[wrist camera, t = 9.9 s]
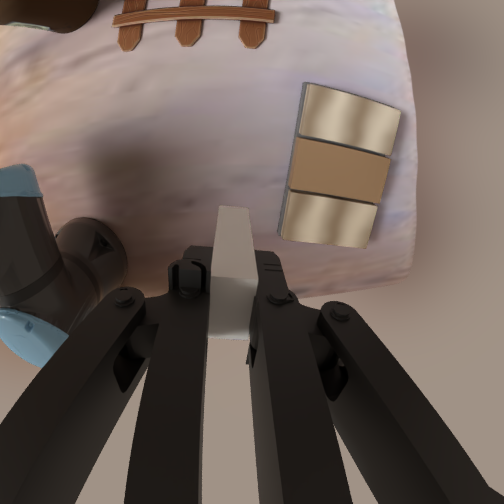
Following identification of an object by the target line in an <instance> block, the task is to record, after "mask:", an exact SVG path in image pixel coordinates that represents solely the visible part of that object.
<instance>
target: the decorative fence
mask: <svg viewBox="0 0 504 504" xmlns="http://www.w3.org/2000/svg"><path fill="white" fill-rule="evenodd" d="M146 1H147V0H125V1H124V6H123V11H122V14H118V15H115V16H114V18H113V24H112V27H113V28H116V27H120V28H119V34H118V41H117V43H118V45H119V46H120V48H121V50H122V51H123V52H127V51H132V50H133V49H134V47H135V46H136V45H137V43H138V42H139V41H140V37H141V30H142V24H143V23H149V22H159V21H170V20H177V25H176V32H175V37H176V39H177V40H178V42H179V43H180V45H181V46H182V47H191V46H192V45H193V44H194V43H195V42H196V40H197V39H198V38H199V37H200V34H201V27H202V19H227V20H240V29H239V39H240V40H241V42H242V43H243V45H244V47H245V48H251V49H255V48H257V46H258V45H259V44H260V43H261V42H262V41H263V40H264V38H265V29H266V22H267V23H273V22H274V19H275V10H271V9H268V1H269V0H243V4H242V7H237V6H204V5H205V0H180V5H179V7H169V8H158V9H150V10H145V6H146Z"/></svg>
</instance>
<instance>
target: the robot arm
mask: <svg viewBox="0 0 504 504" xmlns="http://www.w3.org/2000/svg"><path fill="white" fill-rule="evenodd" d="M42 197H43V194H42V193H41V191H40V188H39V185H38V182H37V179H36V175H35V172H34V170H33V168H32V167H31V166H29V165H27V164H17V165H12V166H8V167H4V168H1V169H0V338H1V340H2V341H3V342H4V343H5V344H6V345H7V346H8V347H9V348H10V349H11V350H12V351H13V352H14V353H15V354H17V355H18V356H20V357H21V358H22V359H24V360H26V361H27V362H29V363H31V364H33V365H35V366H38V367H40V368H42V369H41V370H40V371H39V373H38V374H37V375H36V377H35V378H34V379H33V380H32V382H31V383H30V384H29V386H28V387H27V388H26V389H25V391H24V392H23V393H22V395H21V396H20V397H19V399H18V400H17V402H16V403H15V404H14V406H13V407H12V409H11V410H10V411H9V413H8V414H7V415H6V417H5V418H4V420H3V421H2V423H1V424H0V504H75V502H76V500H77V498H78V496H79V494H80V492H81V490H82V488H83V486H84V484H85V482H86V480H87V478H88V476H89V474H90V472H91V470H92V468H93V466H94V465H95V463H96V461H97V459H98V457H99V455H100V453H101V451H102V449H103V447H104V445H105V443H106V442H107V440H108V438H109V436H110V434H111V432H112V430H113V429H114V427H115V425H116V423H117V421H118V419H119V417H120V416H121V414H122V412H123V410H124V408H125V406H126V405H127V403H128V401H129V399H130V398H131V396H132V394H133V392H134V390H135V389H136V387H137V385H138V383H139V382H140V380H141V378H142V376H143V375H144V373H145V371H146V369H147V367H148V370H147V375H146V379H145V383H144V388H143V392H142V397H141V401H140V407H139V411H138V417H137V421H136V427H135V433H134V438H133V443H132V449H131V456H130V461H129V469H128V475H127V482H126V491H125V498H124V504H202V447H203V446H202V445H203V419H204V397H205V396H204V395H205V378H206V362H207V345H208V343H207V342H208V338H218V339H233V340H248V337H249V334H250V344H249V349H248V355H247V360H246V364H249V370H250V386H251V399H252V413H253V427H254V439H255V440H254V441H255V453H256V466H257V479H258V491H259V501H260V504H353V502H352V498H351V495H350V490H349V485H348V482H347V477H346V473H345V469H344V465H343V460H342V457H341V452H340V448H339V444H338V441H337V436H336V432H335V429H334V426H335V428H336V430H337V431H338V433H339V435H340V437H341V439H342V440H343V442H344V444H345V446H346V447H347V449H348V451H349V453H350V454H351V456H352V458H353V460H354V462H355V463H356V465H357V467H358V469H359V470H360V472H361V474H362V476H363V477H364V479H365V481H366V483H367V485H368V486H369V488H370V490H371V492H372V493H373V495H374V497H375V499H376V500H377V502H378V504H504V496H502V495H501V494H499V493H498V492H496V491H495V490H493V489H492V488H490V487H489V486H488V485H487V483H486V482H485V480H484V479H483V477H482V475H481V474H480V472H479V471H478V469H477V468H476V467H475V465H474V464H473V462H472V461H471V459H470V458H469V456H468V455H467V453H466V452H465V450H464V449H463V448H462V446H461V445H460V443H459V442H458V440H457V439H456V438H455V436H454V435H453V434H452V432H451V431H450V429H449V428H448V427H447V425H446V424H445V423H444V421H443V420H442V418H441V417H440V416H439V414H438V413H437V412H436V410H435V409H434V408H433V406H432V405H431V404H430V402H429V401H428V400H427V398H426V397H425V396H424V395H423V393H422V392H421V391H420V389H419V388H418V387H417V385H416V384H415V383H414V382H413V380H412V379H411V378H410V376H409V375H408V374H407V373H406V371H405V370H404V369H403V367H402V366H401V365H400V364H399V362H398V361H397V360H396V359H395V357H394V356H393V355H392V354H391V353H390V351H389V350H388V349H387V348H386V346H385V345H384V344H383V343H382V341H381V340H380V339H379V338H378V337H377V335H376V334H375V333H374V332H373V330H372V329H371V328H370V327H369V326H368V324H367V323H366V322H365V321H364V320H363V318H362V317H361V316H360V315H359V314H358V313H357V311H356V310H355V309H353V308H352V307H351V306H349V305H347V304H345V303H343V302H338V301H330V302H327V303H325V304H324V305H323V306H322V308H321V310H318V309H313V308H310V307H307V306H304V305H302V304H300V303H299V301H298V298H297V297H296V295H295V294H294V293H293V292H291V291H290V290H288V287H287V283H286V280H285V276H284V273H283V269H282V266H281V262H280V259H279V257H278V256H277V255H276V254H275V253H274V252H270V251H259V250H254V245H253V238H252V231H251V224H250V217H249V210H248V208H244V207H234V206H223V205H219V211H218V218H217V225H216V233H215V240H214V247H202V246H190V247H189V248H188V249H187V250H185V252H184V255H183V259H181V260H177V261H175V262H173V263H171V265H170V266H169V267H168V280H169V291H168V293H166V294H164V295H161V296H157V297H150V298H144V294H143V293H142V292H141V291H140V290H138V289H136V288H133V287H120V285H121V284H122V282H123V280H124V278H125V276H126V272H127V258H126V254H125V251H124V248H123V246H122V244H121V242H120V241H119V239H118V238H117V236H116V235H115V234H114V233H113V232H112V231H111V230H110V229H109V228H108V227H106V226H105V225H103V224H102V223H100V222H98V221H96V220H93V219H89V218H76V219H73V220H71V221H69V222H68V223H66V224H65V225H64V226H63V227H62V228H61V229H59V231H58V232H57V233H56V235H55V237H54V234H53V231H52V228H51V225H50V222H49V219H48V216H47V212H46V209H45V205H44V202H43V198H42ZM119 287H120V288H119ZM333 424H334V425H333Z"/></svg>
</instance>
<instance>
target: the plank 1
mask: <svg viewBox="0 0 504 504" xmlns="http://www.w3.org/2000/svg"><path fill="white" fill-rule="evenodd" d="M400 114H401V111H399V110H397V109H394V108H391V107H388V106H386V105H383V104H380V103H377V102H374V101H371V100H368V99H365V98H361V97H358V96H355V95H351V94H348V93H344V92H341V91H337V90H333V89H329V88H325V87H321V86H317V85H313V84H307V89H306V95H305V101H304V107H303V112H302V118H301V123H300V129H299V133H300V134H301V135H305V136H311V137H316V138H321V139H325V140H330V141H335V142H339V143H343V144H348V145H352V146H356V147H360V148H364V149H368V150H371V151H375V152H379V153H382V154H386V155H389V156H391V152H392V148H393V144H394V140H395V136H396V132H397V128H398V123H399V119H400Z"/></svg>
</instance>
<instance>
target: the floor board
mask: <svg viewBox="0 0 504 504" xmlns="http://www.w3.org/2000/svg"><path fill="white" fill-rule="evenodd" d="M307 84H313V83H308V82H304V83H303V85H302V92H301V98H300V104H299V111H298V117H297V123H296V129H295V135H294V141H293V147H292V153H291V158H290V164H289V170H288V176H287V181H286V187H285V192H284V198H283V203H282V209H281V214H280V220H279V225H278V230H277V232H278V235H279V236H281V231H282V225H283V220H284V214H285V208H286V203H287V197H288V191H289V189H292V190H299V191H306V192H312V193H319V194H325V195H331V196H337V197H343V198H348V199H354V200H359V201H365V202H370V203H373V202H374V203H379V204H380V200H381V196H382V193H383V189H384V185H385V181H386V177H387V173H388V169H389V165H390V161H391V159H389V158H386V157H385V154H382V153H379V152H375V151H371V150H368V149H364V148H360V147H356V146H352V145H348V144H343V143H339V142H335V141H330V140H325V139H321V138H316V137H311V136H305V135H301V134H300V133H299V129H300V123H301V118H302V112H303V107H304V101H305V95H306V89H307ZM313 85H317V84H313ZM317 86H321V85H317ZM321 87H325V88H329V89H333V88H330V87H326V86H321ZM333 90H337V89H333ZM337 91H341V90H337ZM341 92H344V93H348V92H345V91H341ZM348 94H351V95H355V94H352V93H348ZM355 96H358V95H355ZM358 97H361V96H358ZM361 98H365V97H361ZM365 99H368V98H365ZM368 100H371V99H368ZM371 101H374V100H371ZM374 102H377V101H374ZM377 103H380V102H377ZM380 104H383V103H380ZM383 105H386V104H383ZM386 106H388V105H386ZM388 107H391V106H388ZM391 108H394V107H391Z"/></svg>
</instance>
